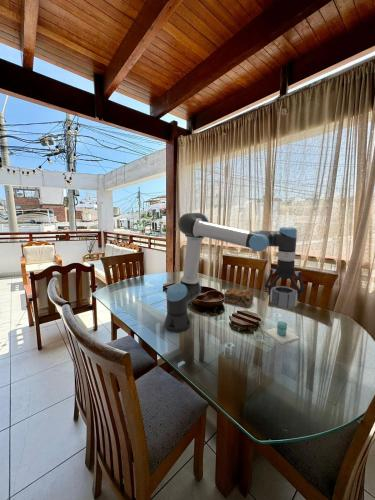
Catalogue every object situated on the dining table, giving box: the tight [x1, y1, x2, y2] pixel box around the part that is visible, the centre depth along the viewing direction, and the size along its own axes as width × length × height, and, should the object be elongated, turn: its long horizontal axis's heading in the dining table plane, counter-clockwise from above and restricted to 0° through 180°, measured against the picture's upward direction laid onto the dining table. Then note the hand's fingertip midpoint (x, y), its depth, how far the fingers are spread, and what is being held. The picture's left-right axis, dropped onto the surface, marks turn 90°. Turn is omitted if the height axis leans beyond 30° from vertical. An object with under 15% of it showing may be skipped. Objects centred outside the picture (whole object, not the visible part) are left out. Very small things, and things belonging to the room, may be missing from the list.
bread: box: [223, 287, 254, 308], centre depth 154 cm, size 19×11×10 cm, turn 58°
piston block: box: [264, 320, 300, 345], centre depth 114 cm, size 12×12×7 cm
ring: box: [270, 285, 297, 309], centre depth 107 cm, size 10×10×7 cm
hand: (283, 302), depth 107 cm, fingers closed on ring, 10 cm apart
